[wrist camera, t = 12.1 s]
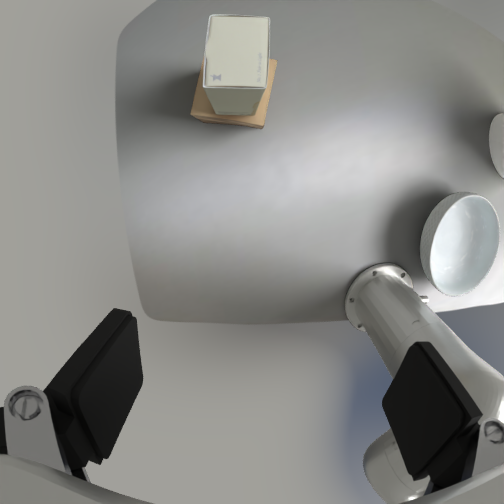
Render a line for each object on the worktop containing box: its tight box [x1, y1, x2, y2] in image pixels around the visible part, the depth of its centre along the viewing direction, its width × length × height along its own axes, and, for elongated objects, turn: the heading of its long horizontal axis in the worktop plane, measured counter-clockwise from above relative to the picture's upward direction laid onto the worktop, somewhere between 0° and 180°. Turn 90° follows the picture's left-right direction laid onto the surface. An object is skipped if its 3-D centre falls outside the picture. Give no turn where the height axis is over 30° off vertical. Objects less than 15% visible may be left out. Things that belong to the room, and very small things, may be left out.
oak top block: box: [191, 55, 277, 129], centre depth 28 cm, size 8×8×4 cm
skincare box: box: [203, 15, 270, 116], centre depth 21 cm, size 6×4×12 cm
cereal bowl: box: [420, 192, 500, 297], centre depth 37 cm, size 17×17×7 cm
